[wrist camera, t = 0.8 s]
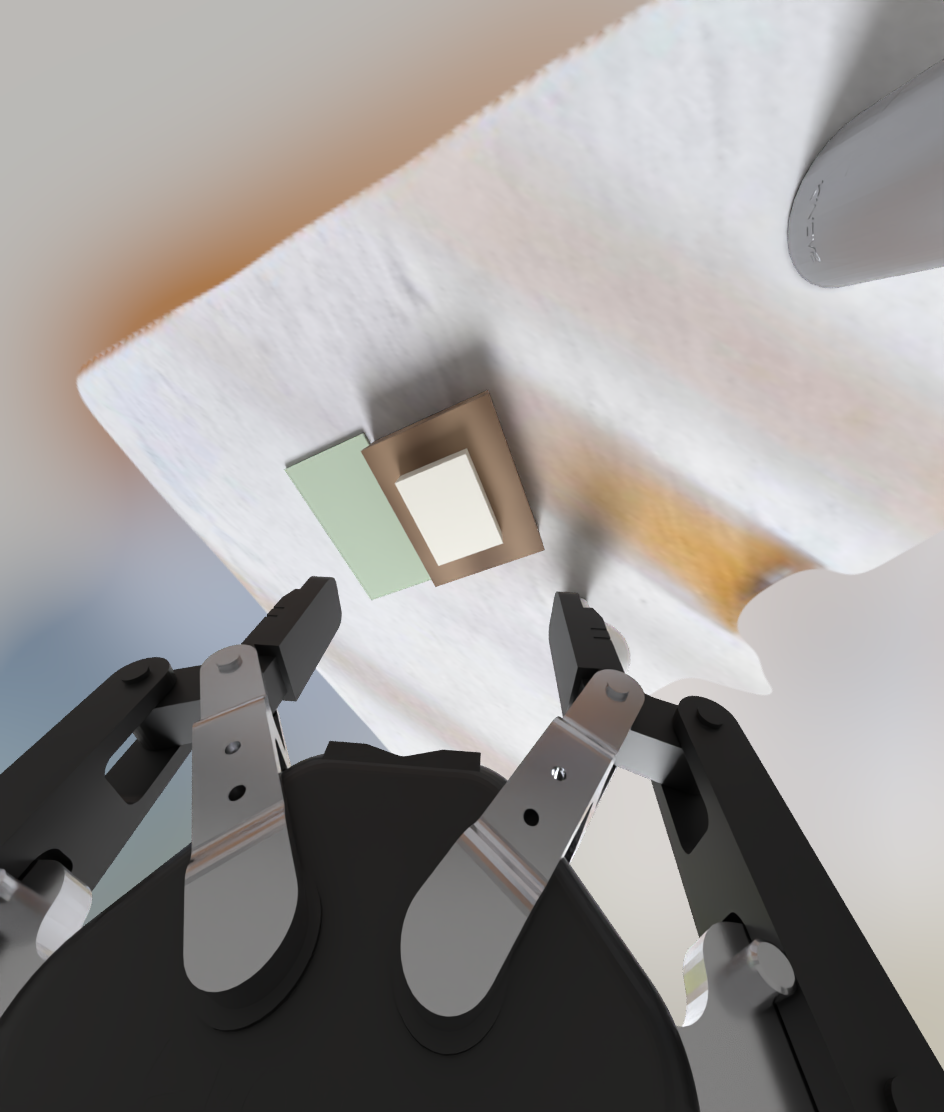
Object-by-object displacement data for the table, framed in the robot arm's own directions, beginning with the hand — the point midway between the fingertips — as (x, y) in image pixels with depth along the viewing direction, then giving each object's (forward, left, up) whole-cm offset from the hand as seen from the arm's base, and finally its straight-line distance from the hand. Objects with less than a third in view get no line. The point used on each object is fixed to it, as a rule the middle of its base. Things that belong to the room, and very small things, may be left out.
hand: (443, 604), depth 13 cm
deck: (+2, +2, -22) cm, 22 cm away
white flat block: (+2, +2, -18) cm, 19 cm away
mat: (+12, +2, -22) cm, 25 cm away
